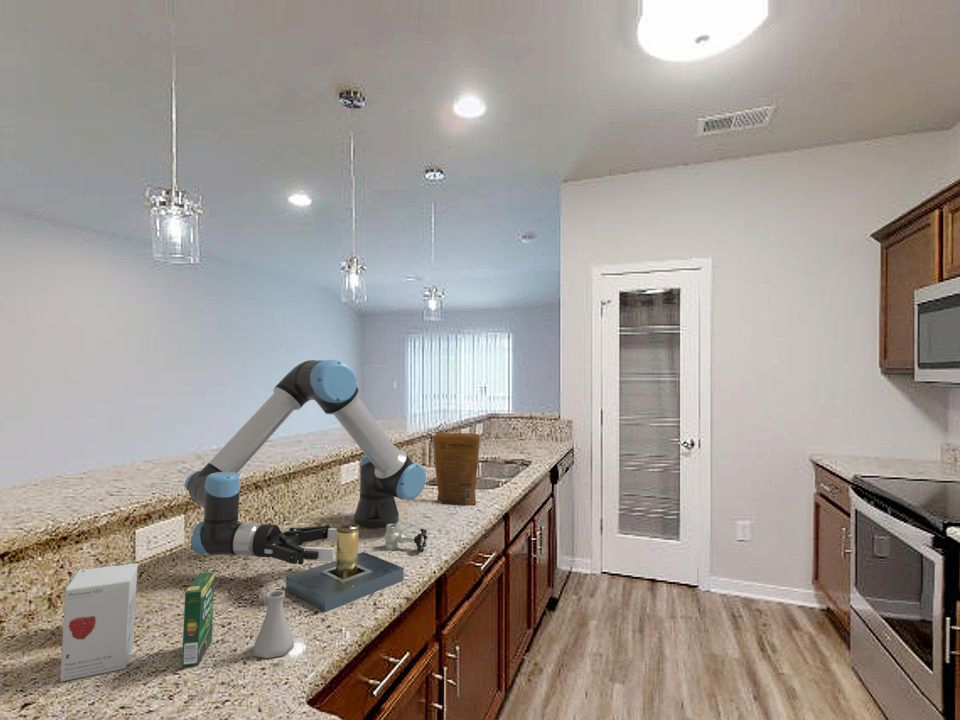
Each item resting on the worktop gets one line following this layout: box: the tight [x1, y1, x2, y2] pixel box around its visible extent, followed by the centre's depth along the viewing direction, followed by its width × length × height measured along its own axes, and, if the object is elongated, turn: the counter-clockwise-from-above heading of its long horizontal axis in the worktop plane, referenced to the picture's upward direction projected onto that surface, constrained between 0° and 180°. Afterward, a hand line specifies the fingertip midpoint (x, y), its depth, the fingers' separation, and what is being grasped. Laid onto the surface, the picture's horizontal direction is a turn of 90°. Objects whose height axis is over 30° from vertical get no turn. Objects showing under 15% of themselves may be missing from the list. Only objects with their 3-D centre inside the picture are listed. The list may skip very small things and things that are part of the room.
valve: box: [384, 523, 428, 553], centre depth 143 cm, size 7×7×12 cm
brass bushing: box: [335, 522, 360, 579], centre depth 118 cm, size 5×5×14 cm
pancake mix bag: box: [432, 432, 481, 506], centre depth 195 cm, size 7×19×28 cm, turn 74°
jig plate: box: [285, 551, 404, 613], centre depth 118 cm, size 22×16×3 cm
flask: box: [252, 589, 295, 659], centre depth 91 cm, size 7×7×10 cm
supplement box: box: [59, 562, 139, 683], centre depth 85 cm, size 9×9×15 cm
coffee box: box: [181, 572, 215, 668], centre depth 88 cm, size 8×3×13 cm, turn 13°
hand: (344, 544), depth 118 cm, fingers open, 13 cm apart
